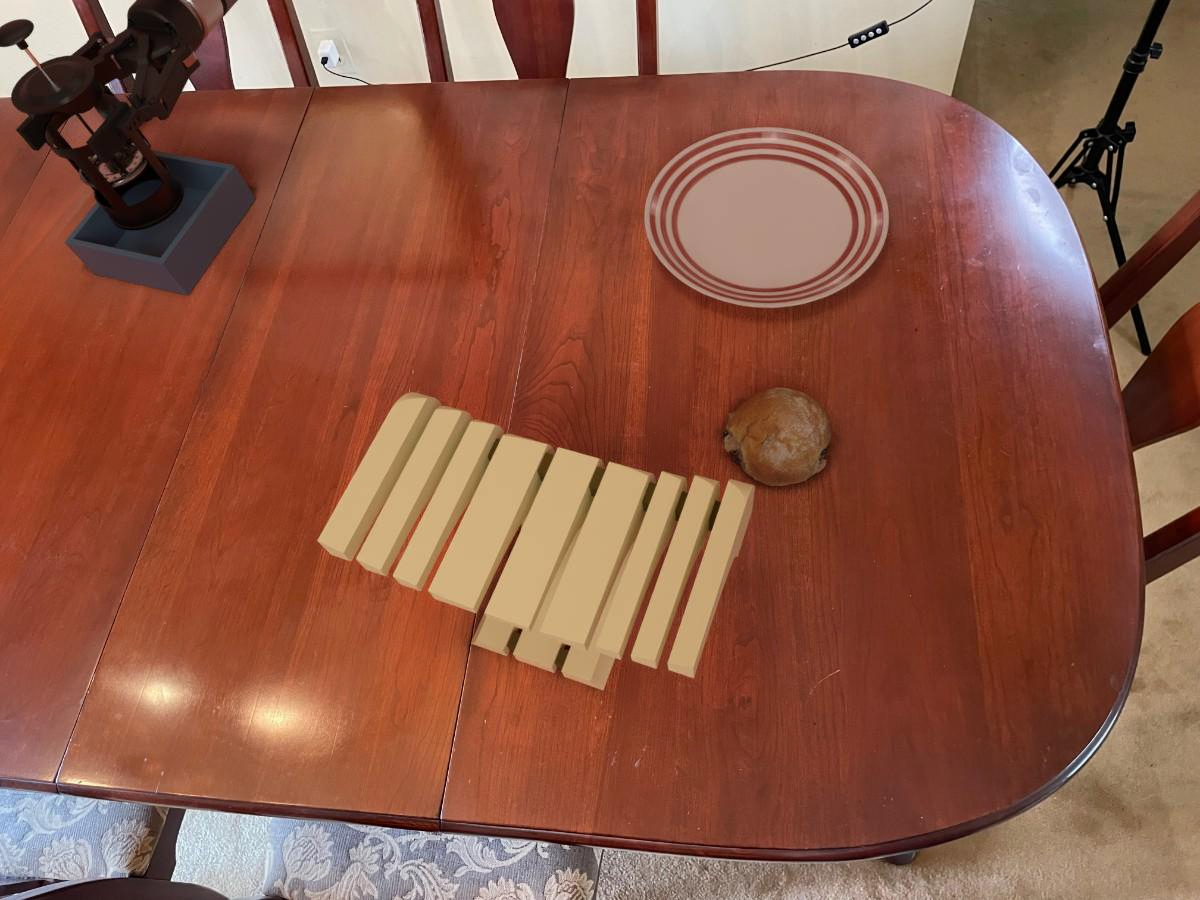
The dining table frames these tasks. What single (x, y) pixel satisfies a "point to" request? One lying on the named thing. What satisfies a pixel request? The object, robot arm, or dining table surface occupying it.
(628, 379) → the dining table surface
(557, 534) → the slatted curved stool
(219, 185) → the open box
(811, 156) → the dinner plate
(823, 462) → the bread roll
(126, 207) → the french press
